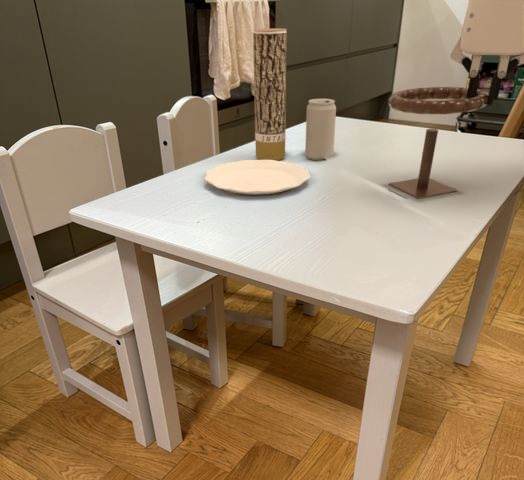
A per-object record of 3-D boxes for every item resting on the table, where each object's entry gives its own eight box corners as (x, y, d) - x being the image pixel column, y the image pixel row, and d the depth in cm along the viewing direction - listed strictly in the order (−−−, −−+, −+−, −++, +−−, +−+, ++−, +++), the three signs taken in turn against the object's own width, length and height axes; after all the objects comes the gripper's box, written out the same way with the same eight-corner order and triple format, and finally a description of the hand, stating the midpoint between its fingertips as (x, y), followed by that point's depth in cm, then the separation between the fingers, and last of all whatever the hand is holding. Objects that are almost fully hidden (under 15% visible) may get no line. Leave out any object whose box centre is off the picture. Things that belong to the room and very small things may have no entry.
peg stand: (424, 183, 99) (435, 122, 93) (456, 196, 93) (470, 132, 86) (387, 189, 96) (395, 127, 90) (417, 204, 90) (428, 138, 83)
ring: (441, 95, 94) (442, 83, 93) (508, 106, 82) (511, 92, 81) (370, 106, 89) (370, 93, 88) (430, 119, 77) (432, 105, 76)
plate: (239, 162, 112) (239, 155, 111) (325, 175, 104) (325, 166, 103) (185, 189, 98) (184, 181, 97) (280, 206, 89) (280, 197, 88)
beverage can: (329, 162, 112) (333, 103, 105) (301, 160, 113) (303, 102, 106) (335, 155, 116) (339, 98, 109) (308, 153, 118) (310, 97, 111)
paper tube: (250, 156, 116) (247, 29, 102) (276, 152, 119) (276, 28, 104) (264, 163, 112) (262, 31, 97) (290, 159, 114) (292, 29, 99)
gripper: (568, -36, 73) (530, 102, 84) (454, -34, 77) (431, 97, 88) (577, -38, 68) (534, 110, 78) (453, -36, 72) (429, 105, 82)
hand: (480, 102), depth 83 cm, fingers closed on ring, 2 cm apart
